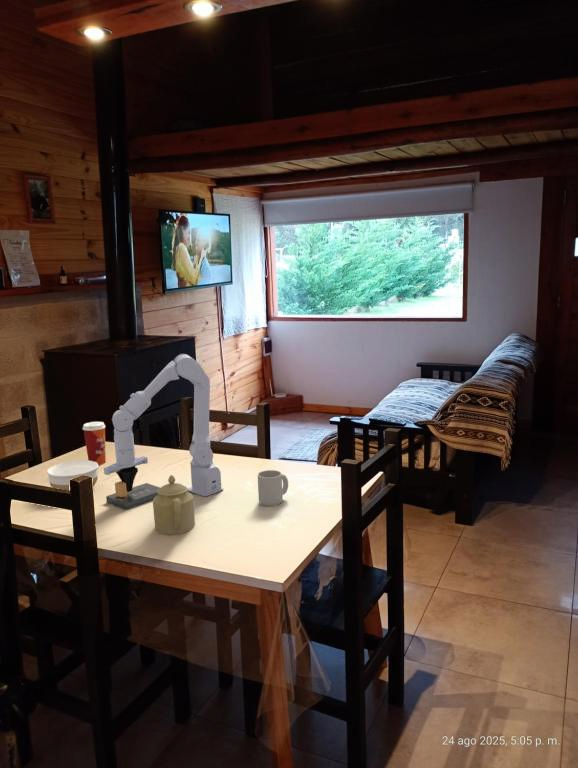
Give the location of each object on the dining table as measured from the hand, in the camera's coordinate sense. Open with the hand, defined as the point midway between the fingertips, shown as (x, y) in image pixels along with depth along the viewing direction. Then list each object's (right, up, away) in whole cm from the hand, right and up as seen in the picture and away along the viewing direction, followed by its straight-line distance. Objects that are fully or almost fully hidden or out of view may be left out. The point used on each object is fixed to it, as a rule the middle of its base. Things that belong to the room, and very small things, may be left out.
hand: (128, 490), depth 198 cm
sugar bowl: (+20, -7, -22) cm, 30 cm away
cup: (+46, -3, -4) cm, 46 cm away
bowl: (-20, -2, +11) cm, 23 cm away
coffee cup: (-22, +4, +40) cm, 46 cm away
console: (+2, -3, +1) cm, 4 cm away
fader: (-2, -1, -2) cm, 3 cm away
